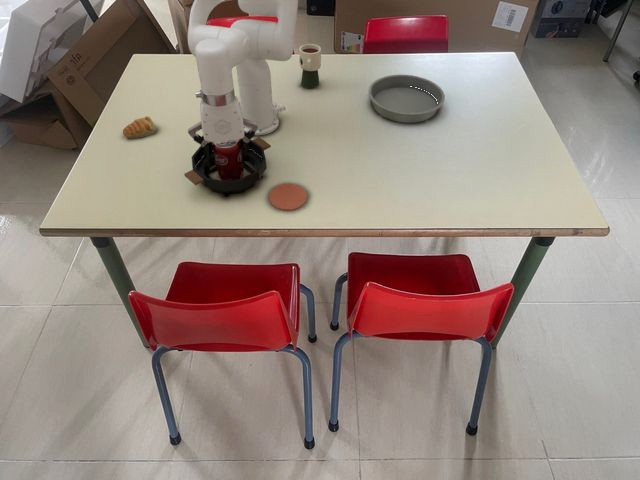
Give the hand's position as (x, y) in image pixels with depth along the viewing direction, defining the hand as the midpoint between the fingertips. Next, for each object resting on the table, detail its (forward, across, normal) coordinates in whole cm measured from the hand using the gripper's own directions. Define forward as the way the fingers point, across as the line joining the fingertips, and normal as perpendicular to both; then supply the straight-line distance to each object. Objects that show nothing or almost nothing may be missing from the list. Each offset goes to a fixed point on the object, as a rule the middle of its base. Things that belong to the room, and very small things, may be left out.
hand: (227, 154), depth 124 cm
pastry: (+8, -25, +26) cm, 37 cm away
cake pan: (+7, +59, +28) cm, 65 cm away
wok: (+8, 0, +1) cm, 8 cm away
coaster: (+8, +14, -10) cm, 19 cm away
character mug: (+7, +30, +45) cm, 55 cm away
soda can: (+8, 0, +1) cm, 8 cm away
